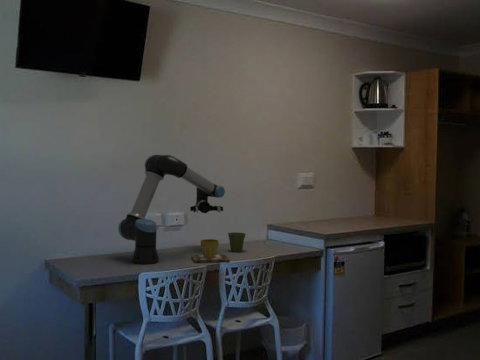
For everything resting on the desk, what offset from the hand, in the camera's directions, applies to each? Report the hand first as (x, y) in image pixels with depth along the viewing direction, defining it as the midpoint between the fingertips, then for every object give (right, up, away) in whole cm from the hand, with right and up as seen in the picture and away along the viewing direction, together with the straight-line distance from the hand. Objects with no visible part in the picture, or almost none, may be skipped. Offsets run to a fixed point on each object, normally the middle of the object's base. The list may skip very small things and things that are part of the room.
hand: (208, 210), depth 305 cm
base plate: (+1, -28, -8) cm, 30 cm away
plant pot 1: (+1, -27, -8) cm, 28 cm away
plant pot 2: (+16, -28, +22) cm, 39 cm away
